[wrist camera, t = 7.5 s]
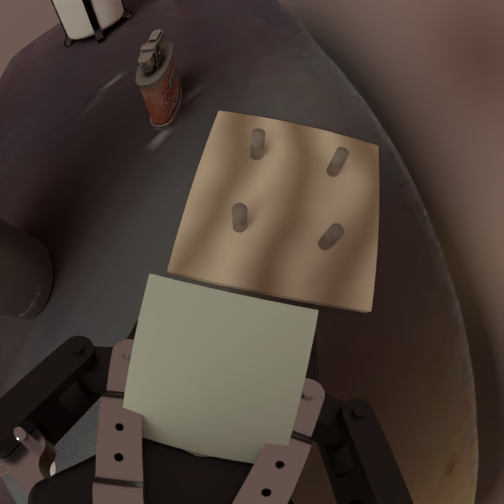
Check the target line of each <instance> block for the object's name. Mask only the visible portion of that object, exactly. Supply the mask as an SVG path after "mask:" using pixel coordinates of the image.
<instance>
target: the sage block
mask: <svg viewBox="0 0 504 504" xmlns="http://www.w3.org/2000/svg"><path fill="white" fill-rule="evenodd" d="M318 311H319V310H314V309H309V308H304V307H298V306H293V305H288V304H283V303H278V302H273V301H268V300H263V299H258V298H253V297H249V296H244V295H239V294H235V293H230V292H225V291H221V290H216V289H212V288H208V287H203V286H199V285H195V284H190V283H186V282H182V281H178V280H174V279H170V278H166V277H161V276H157V275H153V274H149V278H148V282H147V286H146V290H145V294H144V298H143V302H142V306H141V310H140V315H139V319H138V324H137V329H136V333H135V338H134V343H133V348H132V353H131V359H130V364H129V370H128V376H127V382H126V388H125V394H124V401H123V408H126V409H128V410H131V411H134V412H137V413H140V414H142V422H143V432H144V438H147V439H150V440H153V441H156V442H159V443H163V444H166V445H169V446H173V447H176V448H180V449H184V450H188V451H192V452H196V453H200V454H204V455H209V456H214V457H219V458H224V459H229V460H235V461H241V462H248V463H254V462H255V460H256V458H257V457H258V455H259V453H260V451H261V450H262V448H263V446H264V444H265V443H268V444H277V445H286V446H288V444H289V441H290V437H291V433H292V430H293V426H294V422H295V418H296V414H297V410H298V406H299V402H300V398H301V394H302V390H303V385H304V381H305V377H306V372H307V367H308V363H309V358H310V353H311V348H312V343H313V338H314V333H315V328H316V322H317V317H318Z"/></svg>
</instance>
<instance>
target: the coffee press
mask: <svg viewBox="0 0 504 504" xmlns="http://www.w3.org/2000/svg"><path fill="white" fill-rule="evenodd" d="M51 1H52V4H53V6H54V8H55V11H56V13H57V15H58V18H59V20H60V22H61V25H62V27H63V29H64V31H65V34H66V38H65V42H66V39H67V34H68V36H69V37H70V38H72V40H71V42H70V43H69V44H65V42H64V45H65V47H69V46H70V45H71V44H72V42H73V40H74V39H83V38H87V37H90V36H92V35H95V37H96V39H97V42H98V43H100V42H102V41H104V37H103V34H102V31H103V30H105V29H107V28H108V27H110V26H111V25H113V24H114V23H115V22H117V21H118V20H119V19H120V17H125V18H130V17H131V16H132V12H131V11H130V10H128V9H126V8H125V7H124V4H123V1H122V0H51ZM121 1H122V2H121ZM122 4H123V6H122ZM123 7H124V9H125V10H126V11H128V12H130V13H131V14H130V15H129V16H125V15H122V14H123Z"/></svg>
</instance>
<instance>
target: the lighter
mask: <svg viewBox="0 0 504 504" xmlns="http://www.w3.org/2000/svg"><path fill="white" fill-rule="evenodd" d="M163 40H164V33H163V30H155V31H154V32H153V33H152V35H151V37H150V38H149V40H148V42H147V44H143V45H142V46H141V54H140V55H141V56H140V58H139V60H138V61H139V67H138V70H137V74H136V80H135V81H136V84H137V87H138V88H139V89H141V92H142V95H143V98H144V100H145V103H146V106H147V109H148V111H149V114H150V117H151V120H150V121H151V124H152V127H153V128H154V129H155V130H159V131H162V130H166V129H169V128H170V127H171V126H172V125H173V124H174V121H175V119H176V117H177V115H178V112H179V109H180V106H181V101H182V88H181V84H180V82H179V81H178V76H177V72H176V67H175V62H174V57H173V56H174V48H173V44H172V43H171V42H163Z"/></svg>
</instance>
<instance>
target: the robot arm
mask: <svg viewBox="0 0 504 504" xmlns="http://www.w3.org/2000/svg"><path fill="white" fill-rule="evenodd" d="M52 282H53V265H52V260H51V256H50V254H49V251H48V249H47V248H46V246H45V245H44V244H43V243H42V242H41V241H39V240H37V239H35V238H34V237H32V236H30V235H28V234H26V233H25V232H23V231H21V230H20V229H18V228H16V227H14V226H13V225H11V224H9V223H8V222H6V221H4V220H3V219H1V218H0V316H3V317H9V318H16V319H30V318H33V317H34V316H36V315H37V314H38V313H39V312H40V311H41V310H42V309H43V307H44V306H45V304H46V302H47V300H48V298H49V295H50V292H51V288H52ZM137 324H138V321H137V322H136V324H135V326H134V328H133V329H132V331H131V333H130V335H129V336H128V338H127V339H126V340H122V341H120V342H118V343H117V344H116V345H115V346H114V347H97V346H93V344H92V342H91V340H89V339H88V338H86V337H84V336H74V337H71V338H69V339H68V340H67V341H65V342H64V343H63V344H62V345H61V346H59V347H58V348H57V349H56V350H55V351H53V352H52V353H51V354H50V355H49V356H48V357H46V358H45V359H44V360H43V361H42V362H41V363H39V364H38V365H37V366H36V367H35V368H34V369H33V370H31V371H30V372H29V373H28V374H27V375H26V376H25V377H24V378H22V379H21V380H20V381H19V382H18V383H17V384H16V385H15V386H14V387H12V388H11V389H10V390H9V391H8V392H7V393H6V394H5V395H4V396H3V397H2V398H0V461H1V462H2V463H3V465H4V466H5V467H6V468H7V470H8V471H9V472H10V473H11V474H12V476H13V477H14V478H15V479H16V480H17V482H18V483H19V484H20V485H21V486H22V487H23V488H24V489H25V491H26V492H27V493H28V494H29V496H28V504H294V503H293V501H292V500H291V499H290V497H291V495H292V492H293V490H294V488H295V485H296V483H297V481H298V478H299V476H300V474H301V471H302V469H303V466H304V464H305V461H306V459H307V456H308V454H309V451H310V448H311V445H312V440H313V441H315V442H317V443H318V446H319V449H320V453H321V456H322V459H323V462H324V465H325V468H326V471H327V474H328V477H329V480H330V483H331V486H332V489H333V492H334V495H335V499H336V502H337V504H413V501H412V499H411V496H410V494H409V491H408V489H407V487H406V484H405V482H404V479H403V477H402V474H401V472H400V470H399V467H398V465H397V463H396V460H395V458H394V456H393V453H392V451H391V449H390V446H389V444H388V442H387V439H386V437H385V435H384V433H383V430H382V428H381V426H380V424H379V422H378V419H377V417H376V415H375V413H374V411H373V409H372V407H371V405H370V404H369V403H368V402H366V401H365V400H363V399H360V398H352V399H349V400H347V401H346V402H343V401H341V400H338V399H335V398H333V397H331V396H329V395H327V394H326V393H325V392H324V389H323V388H322V386H321V385H320V384H319V377H318V360H317V346H316V335H315V333H314V338H313V343H312V348H311V353H310V358H309V363H308V367H307V372H306V377H305V381H304V385H303V390H302V394H301V398H300V402H299V406H298V410H297V414H296V418H295V422H294V426H293V430H292V433H291V437H290V441H289V444H288V446H286V445H277V444H268V443H265V444H264V446H263V448H262V450H261V451H260V453H259V455H258V457H257V458H256V460H255V462H254V463H248V462H241V461H235V460H229V459H224V458H219V457H198V456H195V455H193V454H191V453H189V452H187V451H185V450H183V449H180V448H176V447H173V446H169V445H166V444H163V443H159V442H156V441H153V440H150V439H147V438H144V432H143V422H142V414H140V413H137V412H134V411H131V410H128V409H126V408H123V401H124V394H125V388H126V382H127V376H128V370H129V364H130V359H131V353H132V348H133V343H134V338H135V333H136V329H137ZM100 397H101V401H100V410H99V420H98V432H97V448H96V455H94V456H92V457H90V458H88V459H86V460H84V461H82V462H80V463H78V464H76V465H74V466H72V467H69V468H67V469H65V470H63V471H61V472H58V473H56V474H54V475H52V476H51V475H50V468H51V465H52V463H53V462H54V460H55V456H56V452H55V448H54V445H55V444H56V443H57V442H58V441H59V440H60V439H61V438H62V437H63V436H64V435H65V434H66V433H67V432H68V431H69V430H70V429H71V427H72V426H73V425H74V424H75V423H76V422H77V421H78V420H79V419H80V418H81V417H82V416H83V415H84V414H85V413H86V412H87V411H88V410H89V409H90V407H91V406H92V405H93V404H94V403H95V402H96V401H97V400H98V399H99V398H100Z"/></svg>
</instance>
